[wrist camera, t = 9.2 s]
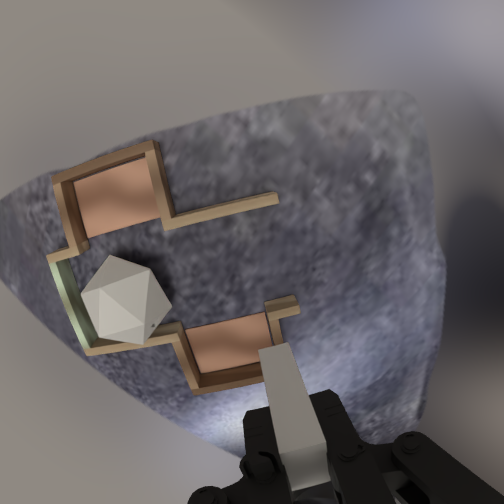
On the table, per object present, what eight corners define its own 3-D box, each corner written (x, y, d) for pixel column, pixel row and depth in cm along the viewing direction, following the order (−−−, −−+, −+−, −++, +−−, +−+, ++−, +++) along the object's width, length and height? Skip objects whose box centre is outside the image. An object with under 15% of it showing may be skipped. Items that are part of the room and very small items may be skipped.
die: (117, 326, 36) (151, 373, 29) (62, 290, 29) (81, 339, 23) (157, 273, 38) (200, 309, 31) (106, 230, 31) (138, 261, 24)
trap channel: (304, 356, 38) (310, 369, 35) (118, 391, 37) (113, 404, 34) (255, 118, 31) (259, 113, 28) (41, 185, 30) (28, 187, 27)
